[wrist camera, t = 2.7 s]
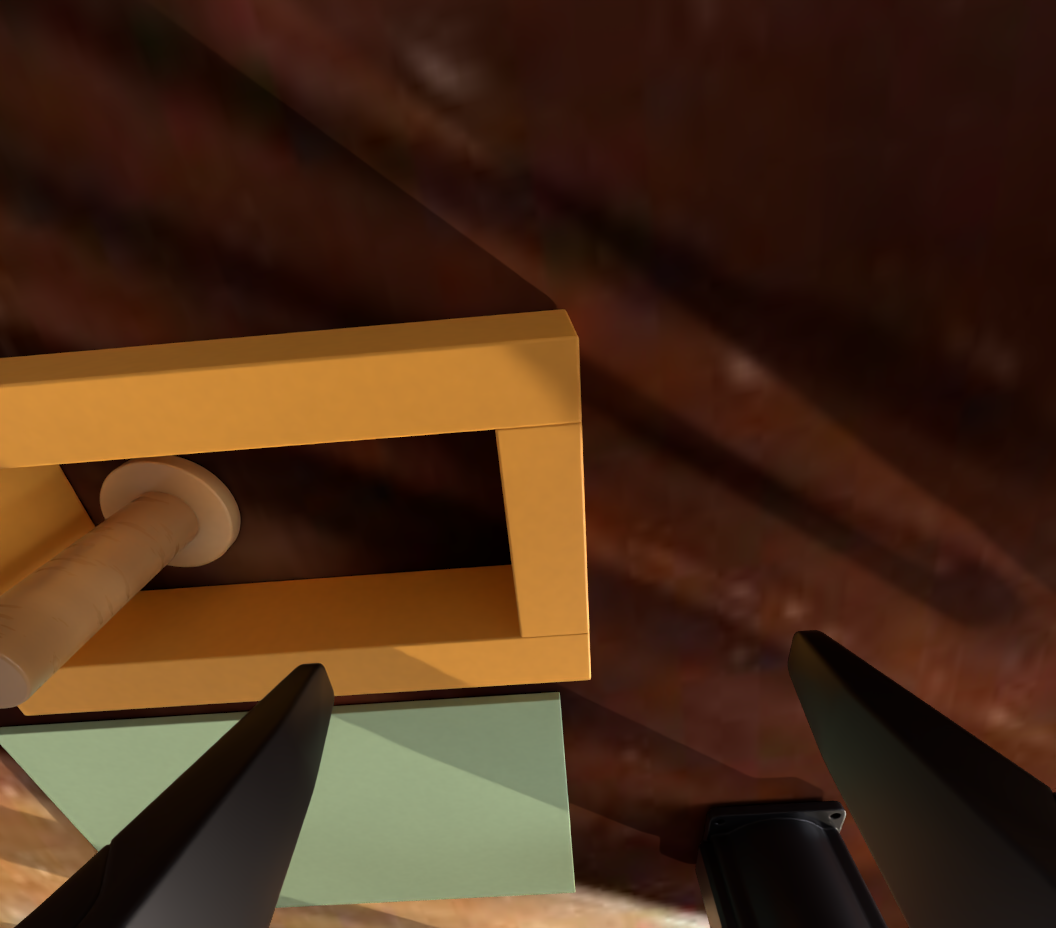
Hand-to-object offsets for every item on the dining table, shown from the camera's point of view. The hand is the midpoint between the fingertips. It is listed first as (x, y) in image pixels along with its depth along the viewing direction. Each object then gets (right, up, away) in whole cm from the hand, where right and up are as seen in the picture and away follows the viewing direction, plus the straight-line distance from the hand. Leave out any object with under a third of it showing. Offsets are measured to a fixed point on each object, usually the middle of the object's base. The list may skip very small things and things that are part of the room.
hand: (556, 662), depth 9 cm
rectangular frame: (-8, +3, +7) cm, 11 cm away
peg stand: (-12, +2, +7) cm, 14 cm away
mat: (-10, -14, +15) cm, 23 cm away
